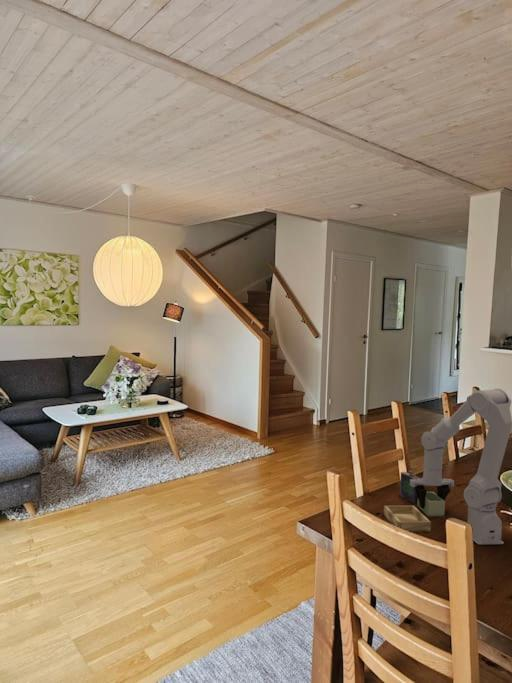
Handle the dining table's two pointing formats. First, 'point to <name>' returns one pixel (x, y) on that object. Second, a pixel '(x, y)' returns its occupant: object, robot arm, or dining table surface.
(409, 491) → the dark blue box
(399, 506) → the beige flat rectangular tray
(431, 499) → the small crate
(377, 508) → the dining table surface
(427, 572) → the dining table surface
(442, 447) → the robot arm
